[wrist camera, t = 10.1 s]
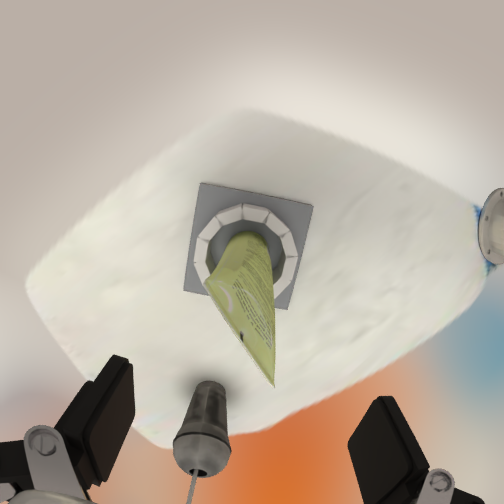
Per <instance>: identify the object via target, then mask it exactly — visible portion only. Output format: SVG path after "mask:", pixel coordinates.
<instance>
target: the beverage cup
mask: <svg viewBox="0 0 504 504" xmlns="http://www.w3.org/2000/svg"><path fill="white" fill-rule="evenodd" d="M173 454H174V458H175V460H176V462H177V464H178V466H179V467H180V468H181V469H182V470H183V471H184V472H186V473H187V474H189V475H191V476H193V477H192V481H191V485H190V490H189V494H188V499H187V503H186V504H191V501H192V496H193V492H194V487H195V483H196V479H197V477H199V478H206V477H211V476H214V475H216V474H217V473H219V472H220V471H222V470H223V469H224V468H225V466H226V465H227V463H228V460H229V457H230V454H231V447H230V443H229V439H228V432H227V409H226V396H225V389H224V388H223V386H221V385H220V384H218V383H216V382H213V381H205V382H201V383H200V384H198V386H197V387H196V390H195V392H194V394H193V397H192V399H191V402H190V405H189V407H188V410H187V413H186V416H185V418H184V421H183V424H182V427H181V429H180V430H179V431H178V433H177V435H176V437H175V439H174V440H173Z"/></svg>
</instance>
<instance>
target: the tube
mask: <svg viewBox="0 0 504 504" xmlns="http://www.w3.org/2000/svg"><path fill="white" fill-rule="evenodd" d="M203 286H204V288H205V289H206V291H207V292H208V294H209V295H210V297H211V299H212V300H213V302H214V303H215V305H216V307H217V308H218V310H219V311H220V313H221V314H222V316H223V318H224V319H225V321H226V322H227V324H228V325H229V327H230V328H231V330H232V331H233V333H234V334H235V336H236V337H237V338H238V340H239V341H240V343H241V344H242V346H243V347H244V349H245V350H246V352H247V353H248V355H249V356H250V357H251V359H252V360H253V362H254V363H255V365H256V366H257V367H258V369H259V370H260V372H261V373H262V375H263V376H264V378H265V379H266V381H267V382H268V383H269V385H270V386H271V387H272V388H275V385H274V372H275V307H274V289H273V276H272V266H271V258H270V252H269V247H268V244H267V242H266V240H265V239H264V238H263V237H262V236H261V235H259V234H258V233H255V232H252V231H243V232H240V233H238V234H236V235H234V236H233V237H232V238H231V239H230V241H229V242H228V244H227V246H226V249H225V251H224V253H223V256H222V258H221V260H220V261H219V263H218V265H217V267H216V268H215V270H214V271H213V273H212V274H211V275H210V276H209V277H208V278H206V279H205V281H204V282H203Z"/></svg>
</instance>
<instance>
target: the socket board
mask: <svg viewBox="0 0 504 504" xmlns="http://www.w3.org/2000/svg"><path fill="white" fill-rule="evenodd" d="M312 211H313V206H312V205H308V204H303V203H299V202H294V201H290V200H285V199H281V198H276V197H271V196H267V195H262V194H257V193H252V192H247V191H242V190H236V189H231V188H226V187H220V186H215V185H209V184H204V183H200V186H199V192H198V197H197V203H196V209H195V215H194V221H193V227H192V233H191V240H190V246H189V253H188V260H187V267H186V274H185V282H184V290H183V291H188V292H193V293H197V294H202V295H207V296H210V295H209V294H208V292H207V291H206V289H205V288H204V286H203V282H204V281H205V279H206V278H208V277H209V276H210V275H211V274H212V273H213V271H214V270H215V268H216V267H217V265H218V263H219V261H220V260H221V258H222V256H223V253H224V251H225V249H226V246H227V244H228V242H229V241H230V239H231V238H232V237H233V236H234V235H236V234H238V233H240V232H243V231H252V232H255V233H258V234H259V235H261V236H262V237H263V238H264V239H265V240H266V242H267V244H268V247H269V252H270V258H271V266H272V276H273V289H274V307H275V308H279V309H285V310H288V306H289V302H290V299H291V295H292V291H293V288H294V284H295V280H296V276H297V272H298V268H299V264H300V260H301V256H302V252H303V248H304V244H305V240H306V236H307V232H308V228H309V224H310V219H311V215H312Z"/></svg>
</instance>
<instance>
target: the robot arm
mask: <svg viewBox="0 0 504 504" xmlns="http://www.w3.org/2000/svg"><path fill="white" fill-rule="evenodd" d="M479 243H480V248H481V250H482V253H483V255H484V257H485V258H486V259H487V260H488V261H490V262H491V263H494V264H502V263H504V188H498V189H496V190H494V191H493V192H492V193H491V194H490V195H489V196H488V198H487V200H486V202H485V203H484V206H483V209H482V212H481V216H480V221H479ZM134 416H135V399H134V381H133V365H132V364H130V363H129V360H128V359H127V358H124V357H120V356H117V355H112V357H111V358H110V359H109V361H108V362H107V363H106V365H105V366H104V368H103V369H102V371H101V372H100V373H99V375H98V376H97V378H96V379H95V381H94V382H93V381H87V382H86V383H85V384H84V385H83V386H82V388H81V389H80V391H79V392H78V393H77V395H76V396H75V398H74V399H73V401H72V402H71V403H70V405H69V406H68V408H67V409H66V411H65V412H64V414H63V415H62V416H61V418H60V419H59V421H58V422H57V424H56V425H55V427H54V428H52V427H49V426H46V425H38V426H34V427H32V428H30V429H29V430H28V431H27V432H26V434H25V436H24V440H18V441H10V442H0V503H1V502H4V501H8V502H9V503H8V504H97V503H94V502H92V500H91V497H90V495H89V493H88V491H87V490H88V489H90V487H91V485H92V484H94V485H97V486H100V485H101V482H102V481H103V482H106V481H107V480H108V478H109V475H110V473H111V470H112V468H113V466H114V463H115V461H116V459H117V456H118V454H119V451H120V449H121V447H122V444H123V442H124V440H125V437H126V435H127V433H128V431H129V428H130V426H131V424H132V422H133V419H134ZM348 450H349V453H350V457H351V460H352V463H353V467H354V470H355V474H356V477H357V481H358V484H359V488H360V491H361V495H362V499H363V502H364V504H485V503H484V501H483V500H482V499H481V498H479V497H477V496H474V495H472V494H469V493H466V492H464V491H462V490H459V489H457V488H454V485H455V482H454V478H453V477H452V475H451V474H450V473H449V472H448V471H446V470H444V469H433V470H431V471H430V472H429V470H428V468H429V467H430V466H429V464H428V462H427V460H426V458H425V456H424V454H423V452H422V450H421V448H420V446H419V444H418V442H417V440H416V438H415V436H414V434H413V433H412V431H411V429H410V427H409V425H408V423H407V421H406V419H405V417H404V416H403V414H402V412H401V410H400V408H399V407H398V404H397V403H396V401H395V399H394V398H393V397H392V396H379V397H377V399H375V400H374V401H373V402H372V404H371V405H370V407H369V409H368V410H367V412H366V414H365V416H364V417H363V419H362V420H361V422H360V423H359V425H358V427H357V428H356V430H355V431H354V433H353V434H352V436H351V437H350V439H349V441H348Z"/></svg>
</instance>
